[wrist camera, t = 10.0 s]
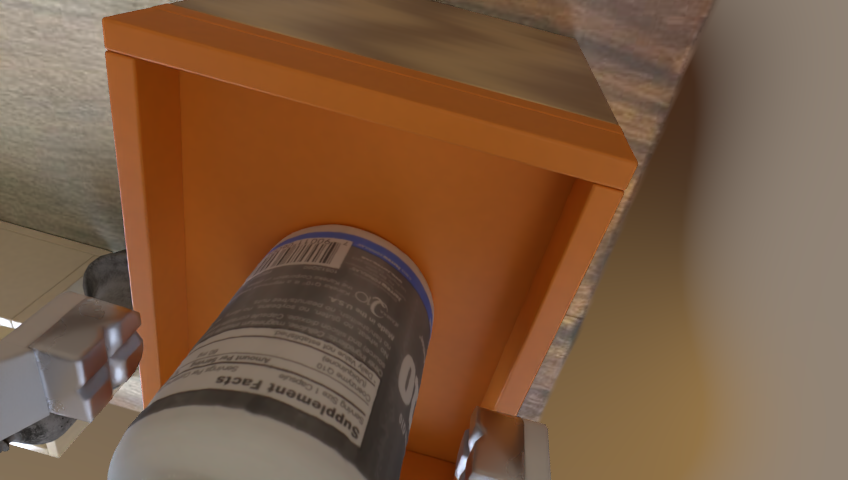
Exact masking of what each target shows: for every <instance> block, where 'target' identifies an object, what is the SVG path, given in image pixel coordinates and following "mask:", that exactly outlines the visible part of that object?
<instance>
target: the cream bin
mask: <svg viewBox="0 0 848 480" xmlns="http://www.w3.org/2000/svg"><path fill="white" fill-rule="evenodd" d="M109 253H113V252H111V251H107V250H104V249H100V248H97V247H93V246H89V245H86V244H82V243H79V242H75V241H72V240H68V239H64V238H61V237H57V236H54V235H50V234H47V233H43V232H39V231H36V230H32V229H29V228H25V227H22V226H18V225H14V224H11V223H7V222H4V221H0V340H2V339H3V338H4V337H5V336H7V335H8V334H9V333H11V332H12V331H13V330H14V329H16V328H17V327H18V326H19V325H21V324H22V323H23V322H24V321H26V320H27V319H28V318H30V317H31V316H32V315H33V314H35V313H36V312H37V311H38V310H40V309H41V308H42V307H44V306H45V305H46V304H47V303H49V302H50V301H51V300H52V299H54V298H55V297H56V296H57V295H59V294H60V293H63V292H67V291H72V292H75V293H78V294H82V295H85V294H84V290H83V275H84V272H85V270H86V269H87V267H88V265H89V264H90V263H91V262H92V261H94V260H95V259H96V258H98V257H99V256H102V255H106V254H109ZM124 383H125V382H124ZM124 383H122V384H121V385H120V386H119V387H118V388H116V389H114V390H113V396H114V394H115V393H116V392H117V391H118V390H119V389H120V388H121V386H122V385H123V384H124ZM88 424H89V422H85V421H82V420H78V419H77V420H76V422H75V423H74V424H73V425H72V426H71V427H70V428H69V429H68V430H67V431H66V433H65V434H63V435H62V436H61V437H59V438H58V439H56V440H55V441H53V442H49V443H46V444H42V445H29V444H22V443H15V442H11V443H10V444H12V445H15V446H19V447H22V448H26V449H29V450H33V451H36V452H40V453H43V454H46V455H50V456H53V457H57V458H59V457H60V456H61V455H62V454H63V453H64V452H65V451H66V450H67V448H68V447H69V446H70V445H71V444H72V443H73V441H74V440H75V439H76V438H77V437H78V436H79V435H80V433H81V432H82V431H83V430H84V429H85V428H86V426H87V425H88Z"/></svg>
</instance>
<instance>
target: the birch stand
mask: <svg viewBox="0 0 848 480" xmlns="http://www.w3.org/2000/svg"><path fill="white" fill-rule="evenodd" d="M170 4H172V5H175V6H179V7H183V8H186V9H190V10H194V11H198V12H201V13H205V14H209V15H212V16H216V17H220V18H223V19H227V20H231V21H235V22H238V23H242V24H246V25H249V26H253V27H257V28H260V29H264V30H268V31H272V32H275V33H279V34H283V35H286V36H290V37H294V38H298V39H301V40H305V41H309V42H312V43H316V44H320V45H323V46H327V47H331V48H335V49H338V50H342V51H346V52H349V53H353V54H357V55H361V56H364V57H368V58H372V59H375V60H379V61H383V62H386V63H390V64H394V65H398V66H401V67H405V68H409V69H412V70H416V71H420V72H423V73H427V74H431V75H435V76H438V77H442V78H446V79H449V80H453V81H457V82H461V83H464V84H468V85H472V86H475V87H479V88H483V89H486V90H490V91H494V92H498V93H501V94H505V95H509V96H512V97H516V98H520V99H523V100H527V101H531V102H535V103H538V104H542V105H546V106H549V107H553V108H557V109H561V110H564V111H568V112H572V113H575V114H579V115H583V116H586V117H590V118H594V119H598V120H601V121H605V122H609V123H612V124H616V125H619V124H618V122H617V120H616V118H615V116H614V114H613V112H612V110H611V108H610V106H609V104H608V102H607V100H606V98H605V96H604V94H603V92H602V90H601V88H600V86H599V84H598V82H597V80H596V78H595V76H594V74H593V72H592V70H591V68H590V66H589V64H588V62H587V60H586V58H585V56H584V54H583V52H582V50H581V48H580V46H579V44H578V42H577V40H576V39H573V38H570V37H566V36H562V35H558V34H555V33H551V32H547V31H543V30H540V29H536V28H532V27H529V26H525V25H521V24H517V23H514V22H510V21H506V20H502V19H499V18H495V17H491V16H487V15H484V14H480V13H476V12H472V11H469V10H465V9H461V8H457V7H454V6H450V5H446V4H442V3H439V2H435V1H431V0H184V1H179V2H175V3H170Z"/></svg>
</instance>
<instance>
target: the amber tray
mask: <svg viewBox="0 0 848 480" xmlns="http://www.w3.org/2000/svg"><path fill="white" fill-rule="evenodd" d="M102 26H103V35H104V44H105V48H106V49H107V50H108V51H106V52H105V58H106V67H107V76H108V85H109V94H110V104H111V113H112V122H113V131H114V140H115V150H116V159H117V168H118V177H119V186H120V195H121V205H122V214H123V223H124V232H125V241H126V251H127V260H128V269H129V278H130V287H131V296H132V306H133V310H134V311H137V312H139V313H140V318H141V325H140V326H139V328H138V329H137V330H136V331H137V333H138V334H139V335H140V336H141V338H142V339H143V346H144V349H143V354H142V359H141V361H140V363H139V370H140V379H141V388H142V398H143V407H144V409H145V408H146V407H147V406H148V405H149V403H150V402H151V400H152V399H153V398H154V396H155V395H156V393H157V392H158V391H159V390H160V388H161V387H162V386H163V385H164V384H165V383H166V382H167V380H168V379H169V378H170V377H171V376H172V374H173V373H174V372H175V371H176V369H177V368H178V367H179V366H180V364H181V362H182V361H183V360H184V359H185V358H186V356H187V355H188V354H189V352H190V351H191V350H192V348H193V347H194V345H195V344H196V343H197V342H198V341H199V340H200V338H201V337H202V336H203V335H204V334H205V333H206V331H207V330H208V329H209V327H210V326H211V325H212V323H213V322H214V321H215V320H216V319H217V318H218V316H219V315H220V313H221V312H222V310H223V309H224V308H225V307H226V305H227V304H228V303H229V302H230V300H231V299H232V298H233V296H234V295H235V294H236V292H237V291H238V290H239V288H240V287H241V286H242V285H243V284H244V282H245V281H246V279H247V277H248V276H249V275H250V274H251V273H252V272H253V270H254V269H255V268H256V267H257V266H258V264H259V263H260V262H261V261H262V260H263V258H264V257H265V256H266V255H267V254H268V253H269V252H270V250H271V249H272V248H273V247H274V246H275V245H276V244H277V243H278V242H280V241H281V240H282V239H284V238H285V237H287V236H288V235H290V234H292V233H293V232H296V231H299V230H301V229H305V228H309V227H313V226H319V225H329V224H338V225H345V226H350V227H354V228H358V229H361V230H364V231H367V232H370V233H372V234H375V235H377V236H379V237H381V238H383V239H385V240H386V241H388V242H390V243H392V244H393V245H394V246H396V247H397V248H398V249H400V250H401V251H402V252H403V253H405V254H406V255H407V256H409V257H410V259H411V260H412V261H413V262H414V263H415V264H416V266H417V267H418V268H419V270H420V271H421V273H422V274H423V276H424V278H425V280H426V282H427V284H428V286H429V289H430V292H431V295H432V299H433V304H434V320H433V325H432V333H431V338H430V342H429V346H428V349H427V355H426V359H425V364H424V369H423V374H422V379H421V385H420V389H419V393H418V398H417V403H416V407H415V410H414V415H413V418H412V423H411V428H410V432H409V436H408V443H407V445H406V450H405V456H404V459H403V463H402V467H401V472H400V478H399V480H457V478H456V476H455V468H456V461H457V455H458V451H459V447H460V444H461V440H462V438H463V435H464V432H465V430H467V429H469V428H470V419H471V415H472V413H473V410H474V409H475V407H476V406H479V407H483V408H487V409H491V410H494V411H498V412H502V413H506V414H509V415H513V416H516V415H517V413H518V411H519V409H520V407H521V405H522V403H523V401H524V399H525V397H526V395H527V393H528V391H529V389H530V387H531V385H532V383H533V380H534V378H535V376H536V374H537V372H538V370H539V368H540V366H541V364H542V362H543V360H544V358H545V356H546V354H547V352H548V350H549V347H550V345H551V343H552V341H553V339H554V337H555V335H556V333H557V331H558V329H559V327H560V325H561V323H562V321H563V319H564V317H565V314H566V312H567V310H568V308H569V306H570V304H571V302H572V300H573V298H574V296H575V294H576V292H577V290H578V288H579V286H580V284H581V282H582V279H583V277H584V275H585V273H586V271H587V269H588V267H589V265H590V263H591V261H592V259H593V257H594V255H595V253H596V251H597V249H598V246H599V244H600V242H601V240H602V238H603V236H604V234H605V232H606V230H607V228H608V226H609V224H610V222H611V220H612V218H613V216H614V213H615V211H616V209H617V207H618V205H619V203H620V201H621V199H622V197H623V195H624V191H623V190H625V189H626V188H627V186H628V184H629V182H630V180H631V178H632V176H633V174H634V172H635V170H636V168H637V166H638V162H637V160H636V158H635V156H634V154H633V152H632V150H631V148H630V146H629V144H628V142H627V140H626V138H625V136H624V133H623V131H622V129H621V127H620V126H619V125H616V124H612V123H609V122H605V121H601V120H598V119H594V118H590V117H586V116H583V115H579V114H575V113H572V112H568V111H564V110H561V109H557V108H553V107H549V106H546V105H542V104H538V103H535V102H531V101H527V100H523V99H520V98H516V97H512V96H509V95H505V94H501V93H498V92H494V91H490V90H486V89H483V88H479V87H475V86H472V85H468V84H464V83H461V82H457V81H453V80H449V79H446V78H442V77H438V76H435V75H431V74H427V73H423V72H420V71H416V70H412V69H409V68H405V67H401V66H398V65H394V64H390V63H386V62H383V61H379V60H375V59H372V58H368V57H364V56H361V55H357V54H353V53H349V52H346V51H342V50H338V49H335V48H331V47H327V46H323V45H320V44H316V43H312V42H309V41H305V40H301V39H298V38H294V37H290V36H286V35H283V34H279V33H275V32H272V31H268V30H264V29H260V28H257V27H253V26H249V25H246V24H242V23H238V22H235V21H231V20H227V19H223V18H220V17H216V16H212V15H209V14H205V13H201V12H198V11H194V10H190V9H186V8H183V7H179V6H175V5H172V4H163V5H158V6H154V7H151V8H146V9H141V10H137V11H132V12H127V13H123V14H118V15H113V16H109V17H104V18H103V19H102Z"/></svg>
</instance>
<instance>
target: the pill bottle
mask: <svg viewBox="0 0 848 480" xmlns="http://www.w3.org/2000/svg"><path fill="white" fill-rule="evenodd" d="M433 320H434V304H433V299H432V295H431V292H430V289H429V286H428V284H427V282H426V280H425V278H424V276H423V274H422V273H421V271H420V270H419V268H418V267H417V266H416V264H415V263H414V262H413V261H412V260H411V259H410V257H409V256H407V255H406V254H405V253H403V252H402V251H401V250H400V249H398V248H397V247H396V246H394V245H393V244H392V243H390V242H388V241H386V240H385V239H383V238H381V237H379V236H377V235H375V234H372V233H370V232H367V231H364V230H361V229H358V228H354V227H350V226H345V225H338V224H329V225H319V226H313V227H309V228H305V229H301V230H299V231H296V232H293V233H292V234H290V235H288V236H287V237H285V238H284V239H282V240H281V241H280V242H278V243H277V244H276V245H275V246H274V247H273V248H272V249H271V250H270V252H269V253H268V254H267V255H266V256H265V257H264V258H263V260H262V261H261V262H260V263H259V264H258V266H257V267H256V268H255V269H254V270H253V272H252V273H251V274H250V275H249V276H248V277H247V279H246V281H245V282H244V284H243V285H242V286H241V287H240V288H239V290H238V291H237V292H236V294H235V295H234V296H233V298H232V299H231V300H230V302H229V303H228V304H227V305H226V307H225V308H224V309H223V310H222V312H221V313H220V315H219V316H218V318H217V319H216V320H215V321H214V322H213V323H212V325H211V326H210V327H209V329H208V330H207V331H206V333H205V334H204V335H203V336H202V337H201V338H200V340H199V341H198V342H197V343H196V344H195V345H194V347H193V348H192V350H191V351H190V352H189V354H188V355H187V356H186V358H185V359H184V360H183V361H182V362H181V364H180V366H179V367H178V368H177V369H176V371H175V372H174V373H173V374H172V376H171V377H170V378H169V379H168V380H167V382H166V383H165V384H164V385H163V386H162V387H161V388H160V390H159V391H158V392H157V393H156V395H155V396H154V398H153V399H152V400H151V402H150V403H149V405H148V406H147V407H146V408H145V409H144V410H143V411H142V412H141V413H140V414H139V416H138V417H137V418H136V419H135V420H134V421H133V422H132V424H131V425H130V426H129V427H128V429H127V430H126V432H125V434H124V435H123V437H122V439H121V441H120V443H119V444H118V446H117V448H116V450H115V452H114V454H113V457H112V460H111V463H110V467H109V471H108V480H399V478H400V472H401V467H402V463H403V459H404V456H405V450H406V445H407V443H408V436H409V432H410V428H411V423H412V418H413V415H414V410H415V407H416V403H417V398H418V393H419V389H420V385H421V379H422V374H423V369H424V364H425V359H426V355H427V349H428V346H429V342H430V338H431V333H432V325H433Z"/></svg>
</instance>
